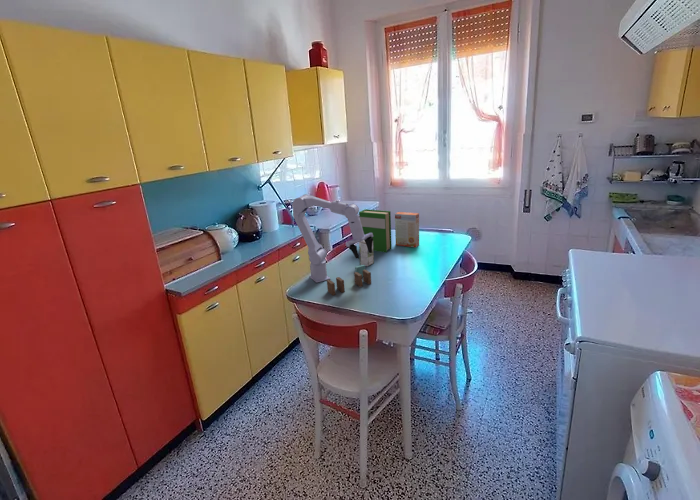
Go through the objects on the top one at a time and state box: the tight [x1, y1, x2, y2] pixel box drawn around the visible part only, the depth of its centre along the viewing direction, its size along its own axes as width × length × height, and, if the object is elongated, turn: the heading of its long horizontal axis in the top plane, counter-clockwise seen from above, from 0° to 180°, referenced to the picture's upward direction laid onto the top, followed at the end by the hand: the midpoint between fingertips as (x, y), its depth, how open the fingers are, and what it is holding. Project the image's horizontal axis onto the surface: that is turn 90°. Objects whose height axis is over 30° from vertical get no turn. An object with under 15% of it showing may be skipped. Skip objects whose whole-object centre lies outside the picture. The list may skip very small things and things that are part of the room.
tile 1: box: [326, 279, 337, 297], centre depth 173 cm, size 2×5×6 cm, turn 29°
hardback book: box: [358, 208, 393, 253], centre depth 225 cm, size 18×7×24 cm, turn 58°
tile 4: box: [362, 269, 372, 285], centre depth 182 cm, size 2×5×6 cm, turn 29°
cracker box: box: [394, 211, 420, 248], centre depth 228 cm, size 14×6×21 cm, turn 58°
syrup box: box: [358, 240, 375, 267], centre depth 203 cm, size 6×6×14 cm
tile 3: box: [353, 271, 364, 288], centre depth 179 cm, size 2×5×6 cm, turn 29°
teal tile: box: [354, 264, 366, 278], centre depth 189 cm, size 2×5×6 cm, turn 119°
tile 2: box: [335, 277, 346, 294], centre depth 175 cm, size 2×5×6 cm, turn 29°
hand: (364, 255), depth 179 cm, fingers open, 7 cm apart
